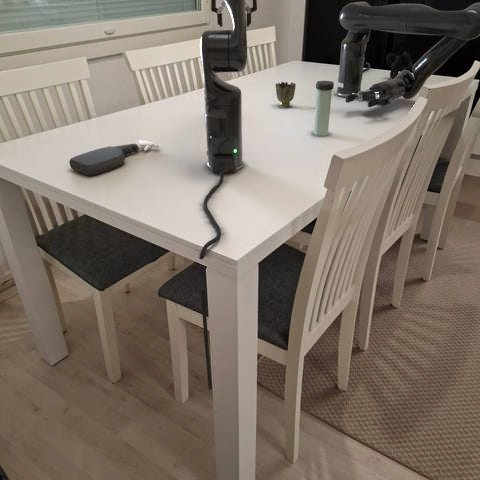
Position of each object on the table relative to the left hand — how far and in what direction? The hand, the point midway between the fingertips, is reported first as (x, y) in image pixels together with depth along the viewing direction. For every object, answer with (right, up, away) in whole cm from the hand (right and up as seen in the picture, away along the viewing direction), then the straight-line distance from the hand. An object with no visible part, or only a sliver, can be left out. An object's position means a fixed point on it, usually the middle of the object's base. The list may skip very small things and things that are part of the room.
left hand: (234, 26), depth 142 cm
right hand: (+41, -22, +6) cm, 47 cm away
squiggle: (+74, +4, +58) cm, 94 cm away
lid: (+27, -21, -9) cm, 36 cm away
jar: (+27, -34, -1) cm, 44 cm away
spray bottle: (-33, -45, -17) cm, 59 cm away
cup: (+19, -18, +26) cm, 36 cm away
